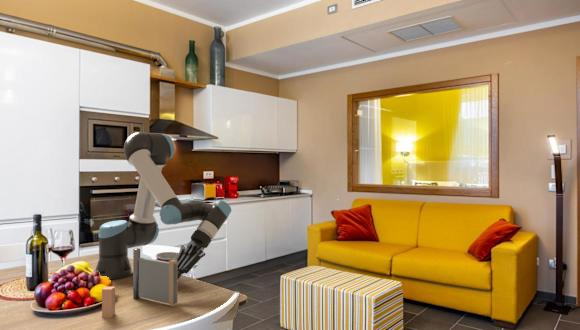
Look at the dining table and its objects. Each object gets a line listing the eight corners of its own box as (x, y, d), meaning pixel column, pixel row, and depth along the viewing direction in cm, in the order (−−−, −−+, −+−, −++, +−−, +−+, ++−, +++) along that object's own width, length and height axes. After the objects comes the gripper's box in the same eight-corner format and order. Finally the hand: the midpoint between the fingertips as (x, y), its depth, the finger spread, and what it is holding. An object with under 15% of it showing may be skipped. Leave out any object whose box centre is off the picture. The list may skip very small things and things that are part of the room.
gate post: (132, 297, 148) (132, 248, 148) (139, 296, 149) (139, 248, 149) (133, 299, 146) (133, 250, 146) (140, 298, 147) (140, 249, 147)
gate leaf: (138, 296, 146) (138, 255, 145) (142, 295, 147) (143, 254, 147) (172, 305, 137) (172, 261, 137) (177, 303, 139) (177, 260, 139)
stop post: (105, 313, 132) (106, 286, 132) (115, 313, 132) (115, 286, 132) (101, 317, 129) (102, 289, 129) (111, 317, 129) (111, 289, 129)
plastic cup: (175, 288, 159) (175, 258, 159) (150, 286, 161) (150, 256, 161) (187, 280, 170) (187, 252, 169) (164, 278, 172) (164, 250, 172)
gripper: (220, 242, 155) (183, 296, 142) (199, 238, 163) (163, 289, 150) (209, 230, 150) (170, 285, 138) (188, 227, 159) (150, 278, 146)
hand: (166, 287), depth 144 cm, fingers closed
